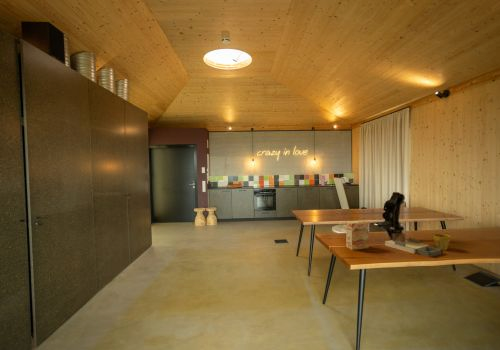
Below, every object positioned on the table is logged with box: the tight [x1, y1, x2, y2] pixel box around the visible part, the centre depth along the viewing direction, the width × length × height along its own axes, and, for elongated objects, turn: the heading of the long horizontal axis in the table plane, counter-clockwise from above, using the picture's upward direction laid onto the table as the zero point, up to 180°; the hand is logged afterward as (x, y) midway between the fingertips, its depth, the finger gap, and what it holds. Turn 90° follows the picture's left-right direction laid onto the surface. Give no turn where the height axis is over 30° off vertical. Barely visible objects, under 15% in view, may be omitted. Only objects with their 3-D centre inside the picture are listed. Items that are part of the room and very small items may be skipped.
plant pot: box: [432, 233, 452, 251], centre depth 189 cm, size 10×10×10 cm
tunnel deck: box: [384, 237, 443, 258], centre depth 189 cm, size 32×18×6 cm, turn 27°
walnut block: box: [391, 232, 406, 242], centre depth 198 cm, size 6×6×6 cm
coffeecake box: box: [345, 220, 370, 251], centre depth 194 cm, size 15×7×20 cm, turn 105°
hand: (390, 237), depth 205 cm, fingers closed
